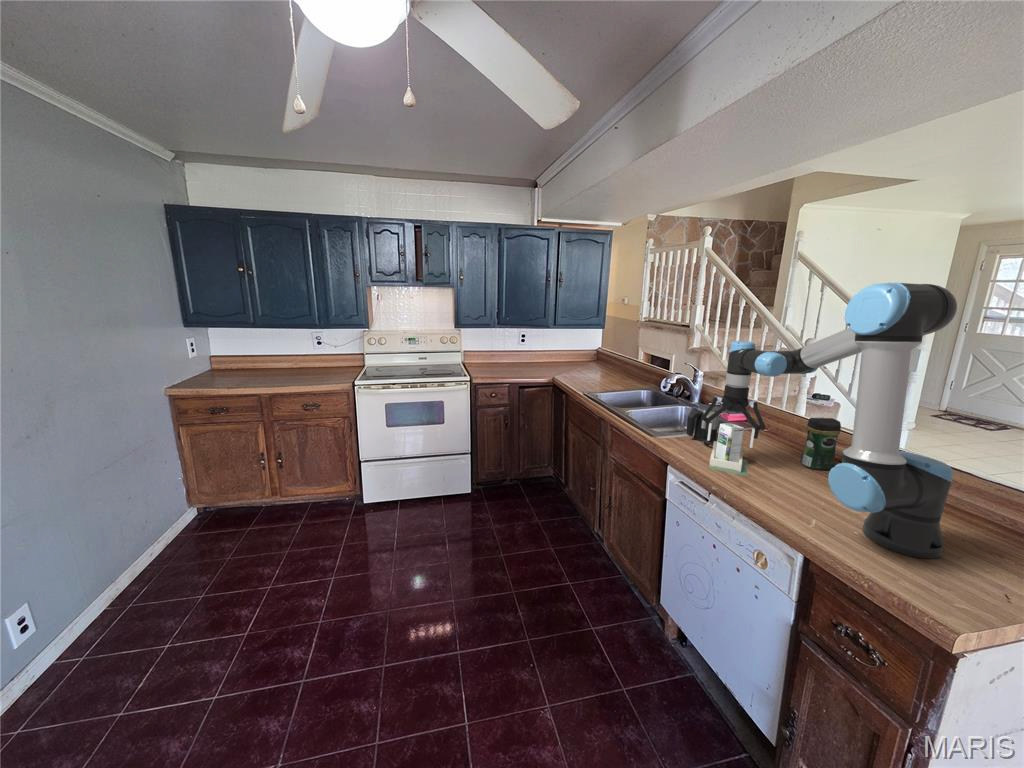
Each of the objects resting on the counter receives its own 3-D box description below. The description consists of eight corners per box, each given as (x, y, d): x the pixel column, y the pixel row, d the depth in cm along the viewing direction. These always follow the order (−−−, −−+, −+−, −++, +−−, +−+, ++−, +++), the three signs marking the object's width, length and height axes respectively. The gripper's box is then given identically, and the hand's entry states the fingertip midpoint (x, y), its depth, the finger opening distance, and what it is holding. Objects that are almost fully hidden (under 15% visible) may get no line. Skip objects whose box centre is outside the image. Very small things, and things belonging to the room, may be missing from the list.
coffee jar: (821, 462, 155) (831, 415, 151) (837, 471, 147) (847, 422, 143) (795, 461, 155) (804, 414, 151) (809, 470, 148) (819, 421, 143)
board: (746, 477, 141) (747, 476, 141) (708, 469, 147) (708, 468, 146) (747, 461, 154) (747, 460, 154) (712, 454, 160) (712, 453, 160)
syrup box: (713, 460, 152) (718, 423, 148) (726, 459, 153) (731, 422, 150) (725, 467, 146) (731, 428, 143) (738, 465, 148) (744, 427, 145)
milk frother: (701, 435, 182) (706, 403, 179) (736, 446, 169) (741, 412, 166) (681, 440, 175) (685, 407, 172) (715, 453, 162) (720, 417, 159)
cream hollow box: (740, 472, 143) (743, 456, 142) (709, 466, 148) (711, 450, 147) (741, 461, 153) (743, 446, 152) (711, 455, 158) (713, 440, 156)
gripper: (778, 388, 140) (769, 446, 145) (699, 379, 153) (693, 433, 157) (779, 392, 134) (770, 453, 138) (697, 383, 146) (690, 439, 151)
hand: (729, 443), depth 148 cm, fingers open, 13 cm apart
